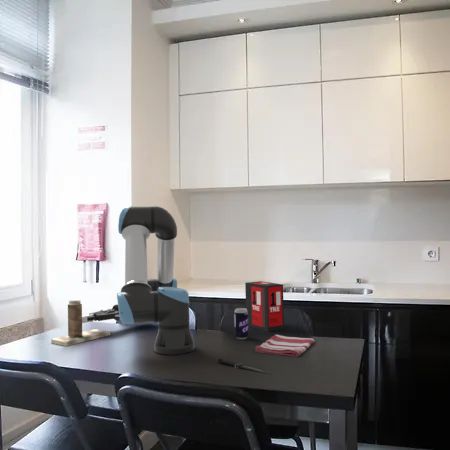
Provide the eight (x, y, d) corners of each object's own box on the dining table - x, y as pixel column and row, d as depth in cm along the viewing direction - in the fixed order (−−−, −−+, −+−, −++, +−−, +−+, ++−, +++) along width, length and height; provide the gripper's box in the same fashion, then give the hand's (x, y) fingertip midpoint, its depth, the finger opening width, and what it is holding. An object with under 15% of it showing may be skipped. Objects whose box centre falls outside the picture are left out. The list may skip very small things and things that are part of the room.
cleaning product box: (283, 329, 204) (283, 284, 205) (268, 332, 200) (267, 286, 200) (261, 323, 218) (260, 281, 218) (246, 325, 213) (245, 282, 214)
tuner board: (95, 332, 205) (95, 328, 205) (110, 335, 199) (110, 331, 199) (51, 342, 187) (51, 338, 187) (65, 346, 181) (65, 341, 181)
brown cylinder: (76, 334, 194) (76, 299, 194) (87, 336, 190) (86, 300, 190) (67, 336, 190) (66, 300, 190) (77, 338, 186) (77, 302, 186)
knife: (287, 373, 142) (279, 375, 138) (286, 379, 142) (278, 382, 138) (224, 356, 157) (215, 358, 153) (223, 361, 157) (214, 364, 153)
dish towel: (253, 353, 167) (253, 346, 167) (275, 339, 188) (275, 332, 188) (298, 358, 160) (298, 350, 160) (315, 343, 181) (315, 336, 181)
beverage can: (238, 340, 185) (238, 310, 185) (232, 337, 190) (231, 308, 190) (251, 338, 188) (250, 309, 188) (244, 335, 193) (243, 307, 193)
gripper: (132, 321, 208) (89, 330, 189) (113, 318, 215) (70, 327, 197) (132, 304, 208) (89, 312, 189) (113, 302, 216) (70, 309, 197)
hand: (79, 320), depth 193 cm, fingers closed
